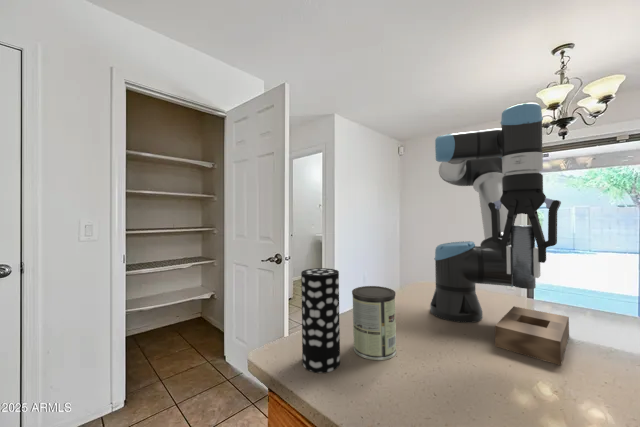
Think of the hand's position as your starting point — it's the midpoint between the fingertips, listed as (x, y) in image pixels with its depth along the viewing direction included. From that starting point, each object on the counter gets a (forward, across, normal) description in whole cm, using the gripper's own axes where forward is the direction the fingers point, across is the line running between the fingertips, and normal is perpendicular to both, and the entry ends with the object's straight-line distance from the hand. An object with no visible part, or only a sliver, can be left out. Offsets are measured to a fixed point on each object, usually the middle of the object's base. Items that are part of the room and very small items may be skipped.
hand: (523, 274), depth 63 cm
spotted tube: (+18, -30, -37) cm, 51 cm away
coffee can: (+18, -25, -24) cm, 39 cm away
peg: (+3, 0, 0) cm, 3 cm away
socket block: (+18, 0, +9) cm, 20 cm away
